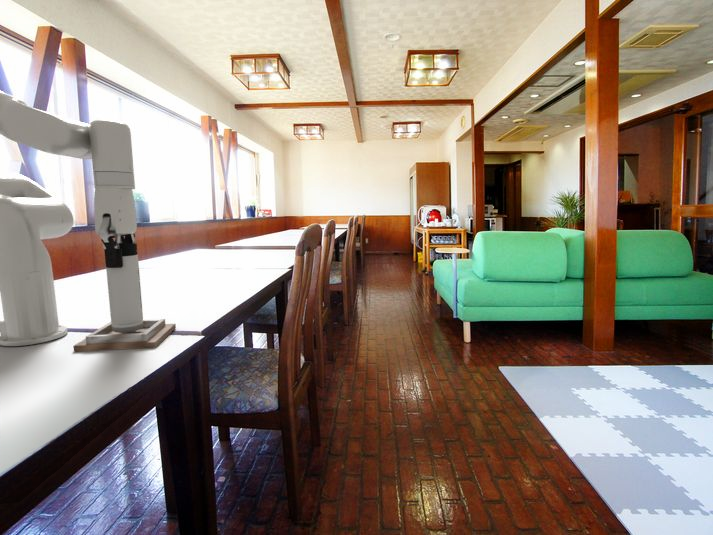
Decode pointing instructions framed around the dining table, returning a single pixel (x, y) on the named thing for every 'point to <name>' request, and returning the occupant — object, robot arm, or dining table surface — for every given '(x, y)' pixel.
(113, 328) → the travel mug
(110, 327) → the plate
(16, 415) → the dining table surface
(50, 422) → the dining table surface
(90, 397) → the dining table surface
